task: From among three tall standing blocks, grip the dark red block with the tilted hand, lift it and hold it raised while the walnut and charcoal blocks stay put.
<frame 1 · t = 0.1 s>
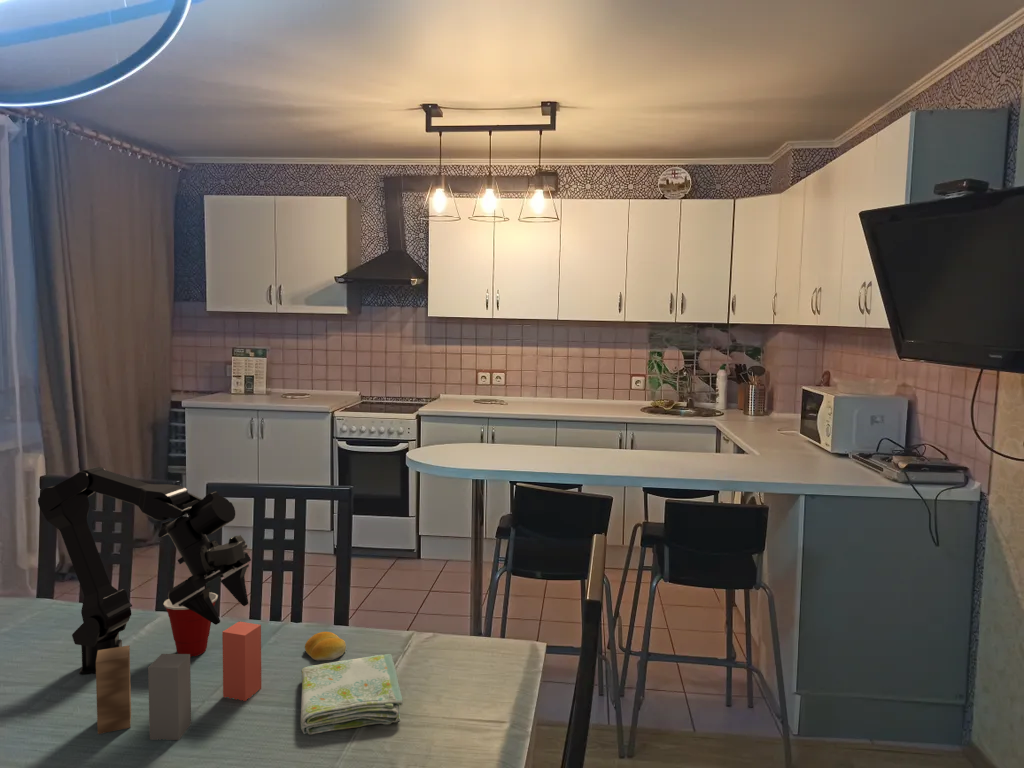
hand: (232, 614, 141), 15 cm above the table, tool tilted 35°, fingers open, 9 cm apart
walnut block: (114, 723, 129), on the table
towel: (349, 704, 138), on the table
red block: (242, 692, 140), on the table
plastic cup: (192, 651, 157), on the table
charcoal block: (170, 731, 127), on the table
bread roll: (325, 653, 158), on the table
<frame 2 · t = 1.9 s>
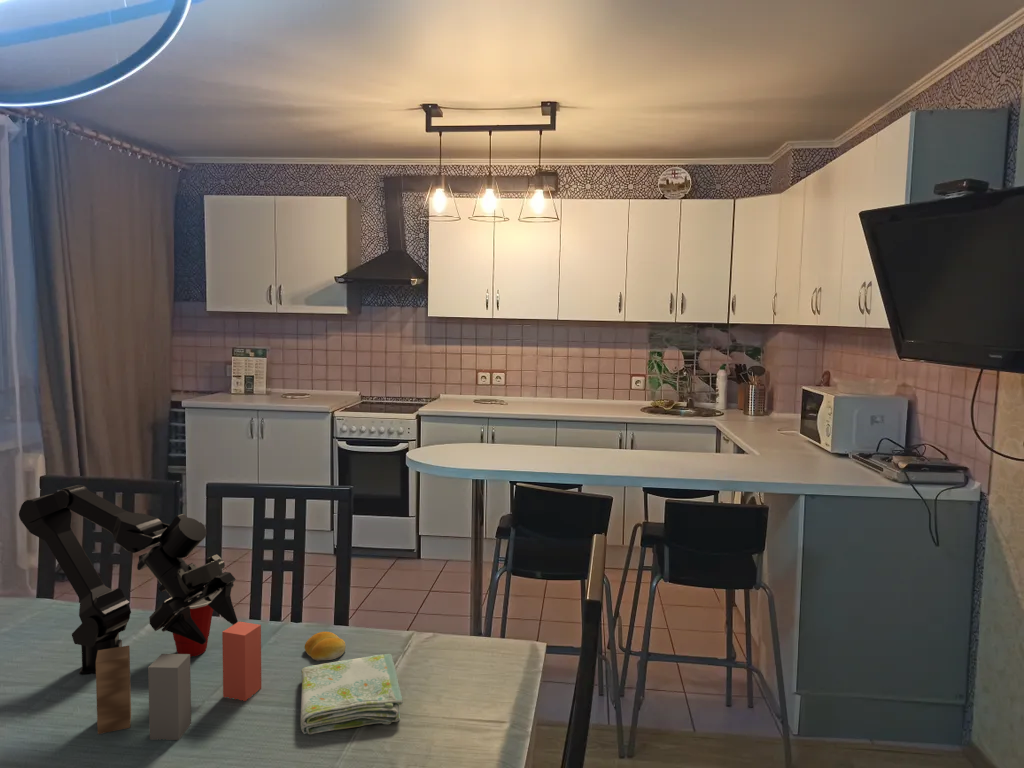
hand: (220, 632, 141), 11 cm above the table, tool tilted 45°, fingers open, 9 cm apart
nothing on the table moved.
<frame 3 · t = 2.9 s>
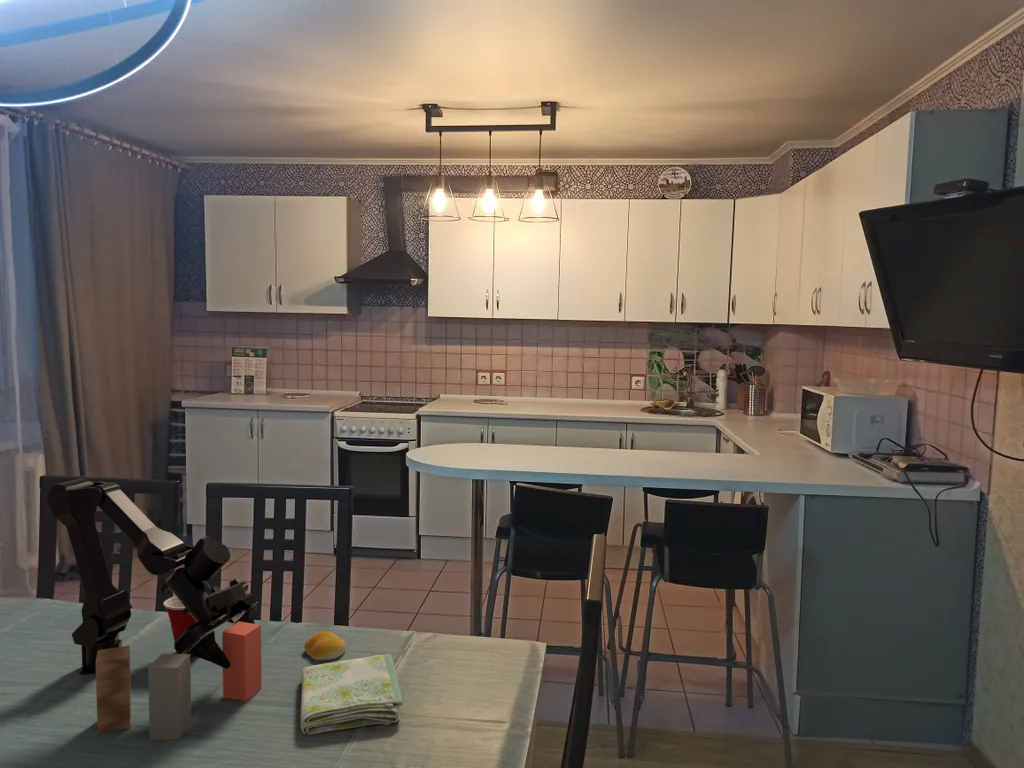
hand: (244, 656, 139), 7 cm above the table, tool tilted 45°, fingers open, 9 cm apart
nothing on the table moved.
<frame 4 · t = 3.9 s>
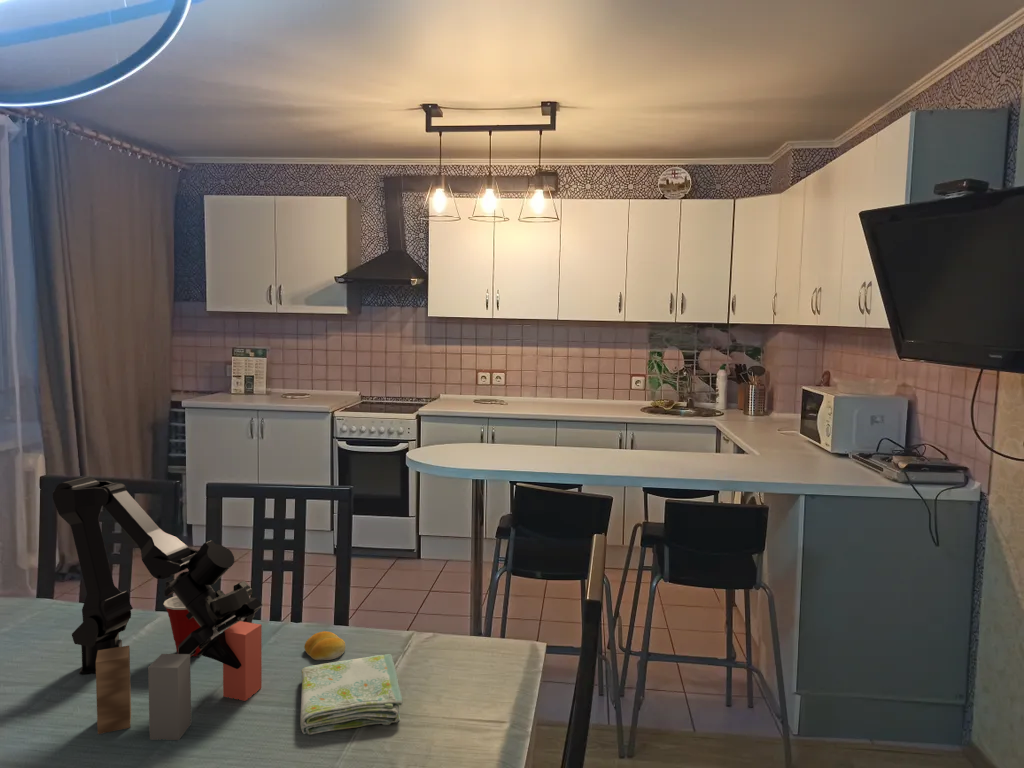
hand: (248, 660, 139), 7 cm above the table, tool tilted 45°, fingers closed on red block, 5 cm apart
red block: (242, 692, 140), on the table, touching gripper
everything else where it was.
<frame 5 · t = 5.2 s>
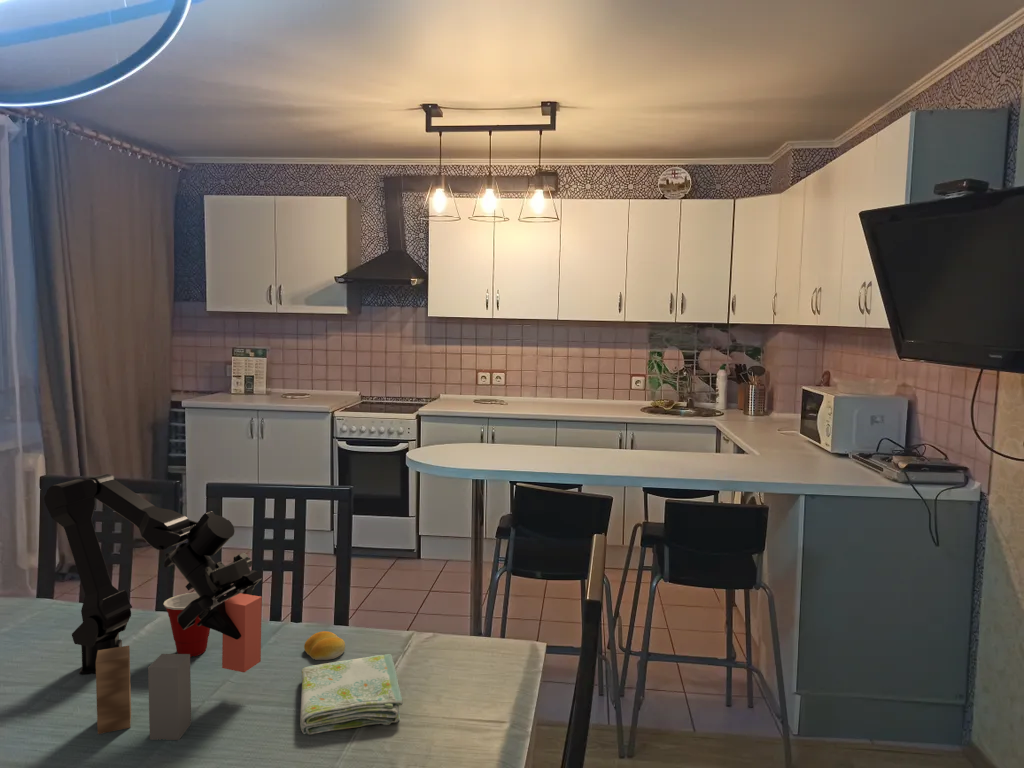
hand: (248, 632, 139), 12 cm above the table, tool tilted 45°, fingers closed on red block, 5 cm apart
red block: (241, 664, 140), point 6 cm above the table, touching gripper
everything else where it was.
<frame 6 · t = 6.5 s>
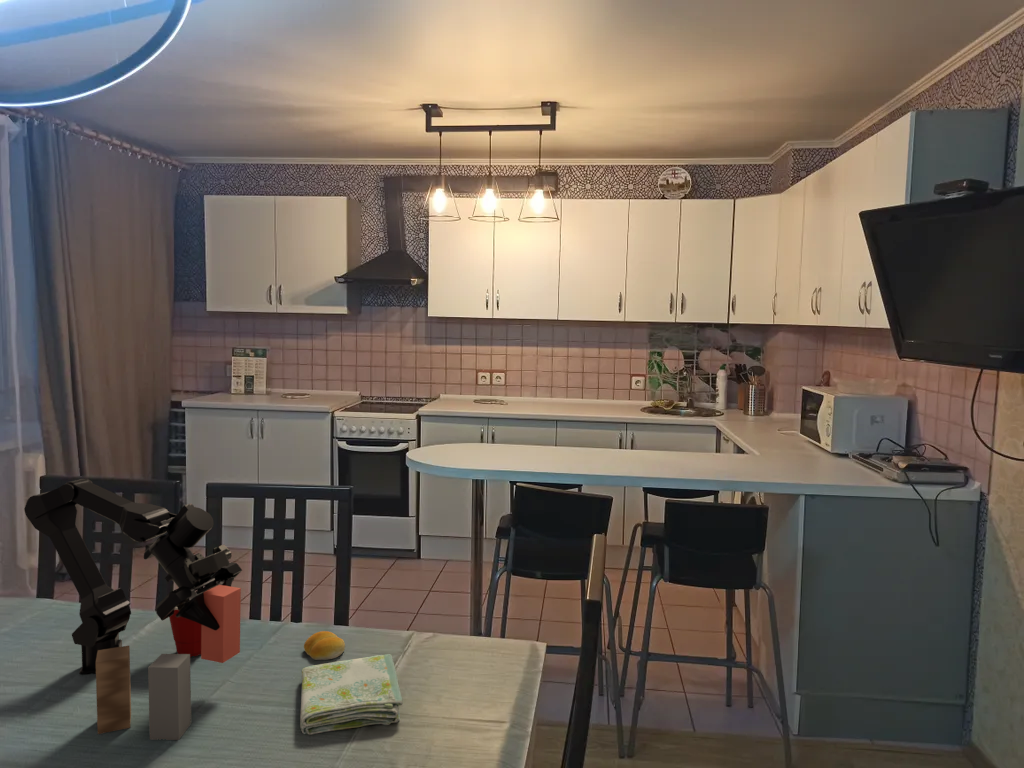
hand: (227, 623, 140), 13 cm above the table, tool tilted 45°, fingers closed on red block, 5 cm apart
red block: (220, 655, 141), point 7 cm above the table, touching gripper
everything else where it was.
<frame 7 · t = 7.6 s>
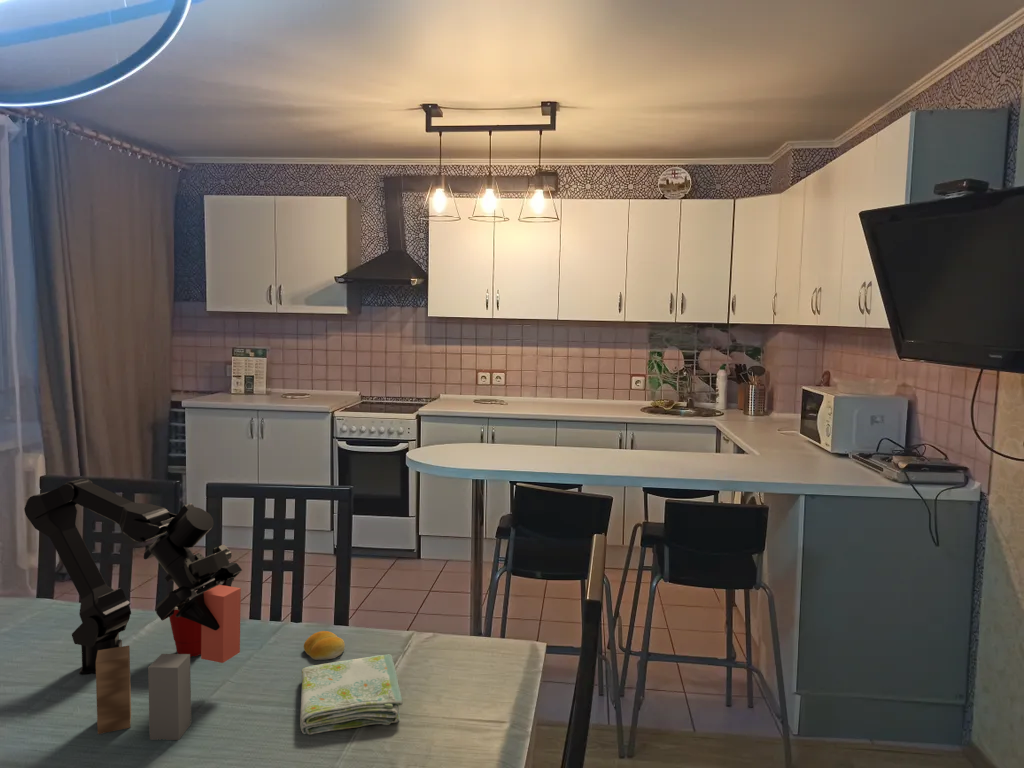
hand: (227, 623, 140), 13 cm above the table, tool tilted 45°, fingers closed on red block, 5 cm apart
red block: (220, 655, 141), point 7 cm above the table, touching gripper
everything else where it was.
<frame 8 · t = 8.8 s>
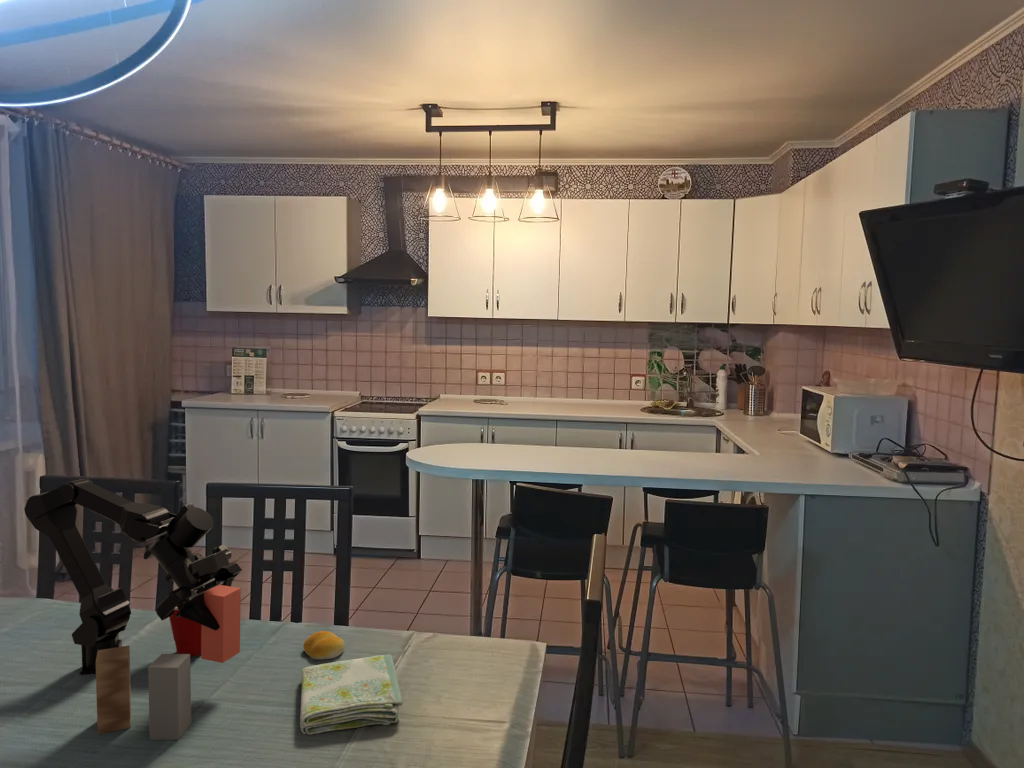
hand: (227, 623, 140), 13 cm above the table, tool tilted 45°, fingers closed on red block, 5 cm apart
red block: (220, 655, 141), point 7 cm above the table, touching gripper
everything else where it was.
at the end: the gripper is holding red block; red block point 6.8 cm above the table; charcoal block moved 0.0 cm from its start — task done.
